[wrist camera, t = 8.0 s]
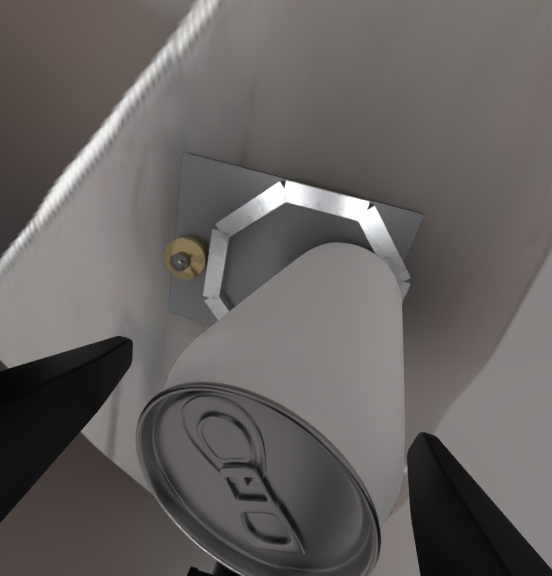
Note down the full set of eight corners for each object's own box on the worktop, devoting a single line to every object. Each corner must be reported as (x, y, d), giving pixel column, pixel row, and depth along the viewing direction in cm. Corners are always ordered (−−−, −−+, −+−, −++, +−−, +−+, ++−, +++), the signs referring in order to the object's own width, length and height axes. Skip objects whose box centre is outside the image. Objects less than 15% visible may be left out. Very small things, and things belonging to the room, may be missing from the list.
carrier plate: (357, 364, 19) (358, 369, 19) (172, 308, 20) (168, 311, 20) (422, 213, 15) (424, 214, 15) (187, 152, 16) (182, 152, 16)
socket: (360, 384, 19) (361, 392, 19) (201, 335, 20) (196, 341, 19) (434, 217, 15) (439, 220, 14) (226, 163, 16) (221, 163, 15)
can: (378, 221, 15) (325, 331, 4) (418, 336, 16) (456, 647, 5) (268, 263, 18) (77, 388, 7) (309, 357, 19) (195, 585, 8)
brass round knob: (208, 277, 18) (196, 288, 17) (172, 266, 19) (156, 276, 17) (213, 240, 17) (201, 248, 16) (175, 229, 18) (159, 236, 16)
